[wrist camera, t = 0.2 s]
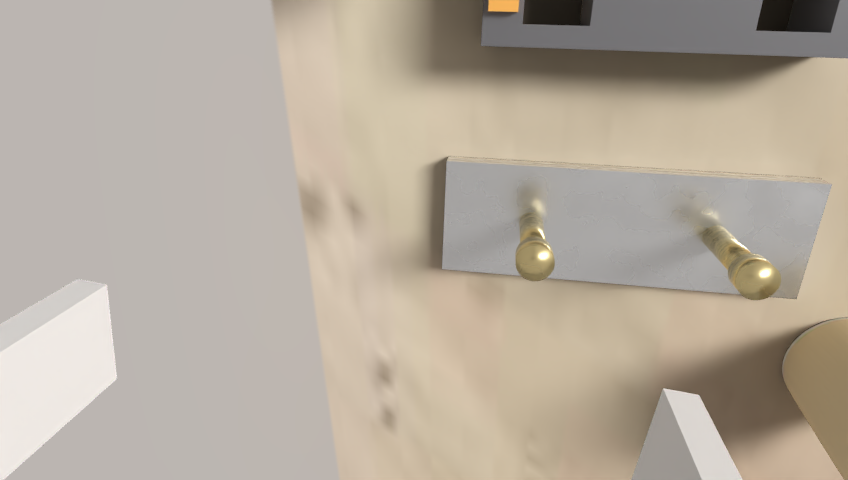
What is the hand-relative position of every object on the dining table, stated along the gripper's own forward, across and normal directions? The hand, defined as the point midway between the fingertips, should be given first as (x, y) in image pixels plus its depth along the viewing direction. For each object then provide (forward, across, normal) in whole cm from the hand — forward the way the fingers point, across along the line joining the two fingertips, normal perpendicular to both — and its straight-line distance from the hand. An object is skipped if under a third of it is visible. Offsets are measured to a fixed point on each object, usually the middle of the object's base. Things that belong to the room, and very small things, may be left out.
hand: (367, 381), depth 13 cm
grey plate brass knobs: (+27, +12, -4) cm, 30 cm away
